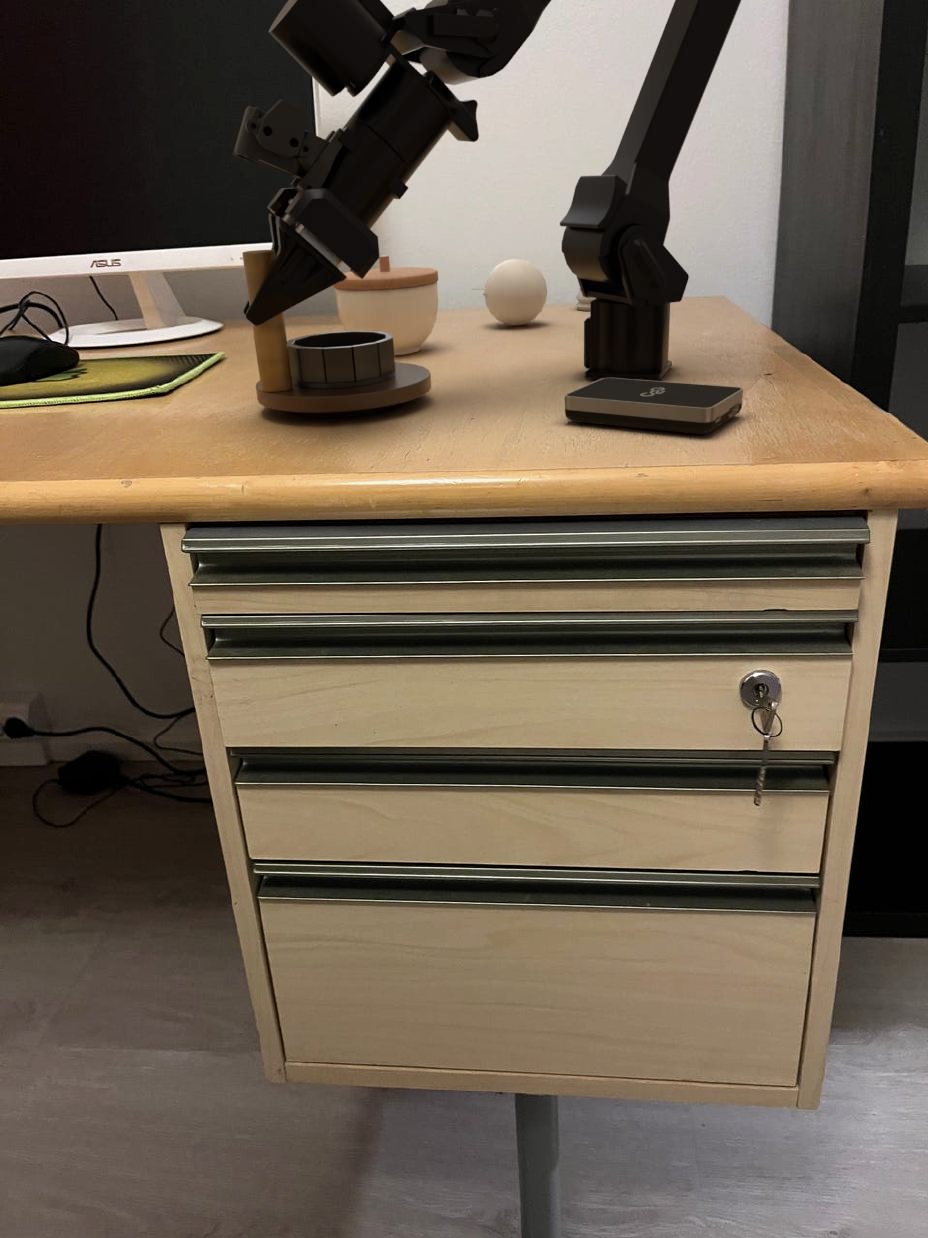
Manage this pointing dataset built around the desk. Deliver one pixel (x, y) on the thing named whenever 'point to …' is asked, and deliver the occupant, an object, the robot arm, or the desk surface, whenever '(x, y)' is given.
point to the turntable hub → (347, 412)
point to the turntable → (326, 363)
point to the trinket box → (390, 303)
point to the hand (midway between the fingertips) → (249, 319)
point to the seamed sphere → (515, 292)
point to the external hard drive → (654, 404)
